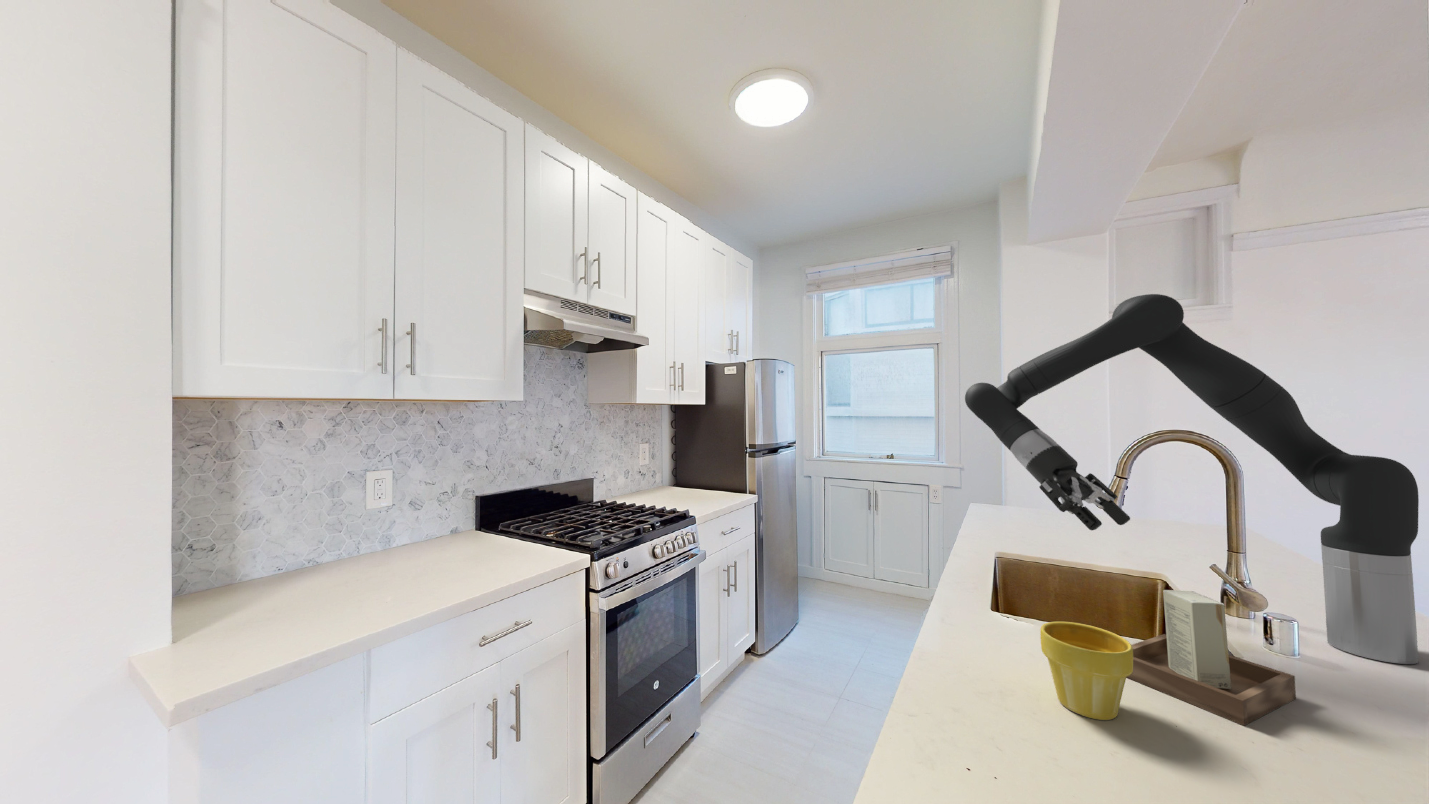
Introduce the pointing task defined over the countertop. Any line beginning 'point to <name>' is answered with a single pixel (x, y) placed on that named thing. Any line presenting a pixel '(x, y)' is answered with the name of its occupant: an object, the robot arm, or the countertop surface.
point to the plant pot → (1087, 667)
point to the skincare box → (1197, 637)
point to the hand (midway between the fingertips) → (1111, 525)
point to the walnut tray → (1242, 704)
